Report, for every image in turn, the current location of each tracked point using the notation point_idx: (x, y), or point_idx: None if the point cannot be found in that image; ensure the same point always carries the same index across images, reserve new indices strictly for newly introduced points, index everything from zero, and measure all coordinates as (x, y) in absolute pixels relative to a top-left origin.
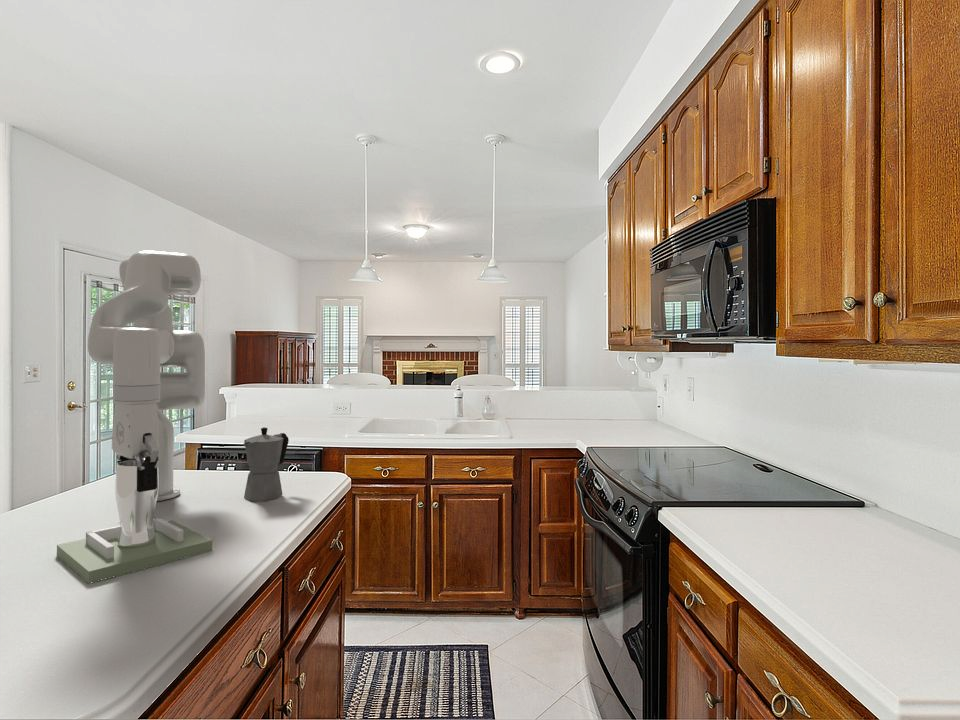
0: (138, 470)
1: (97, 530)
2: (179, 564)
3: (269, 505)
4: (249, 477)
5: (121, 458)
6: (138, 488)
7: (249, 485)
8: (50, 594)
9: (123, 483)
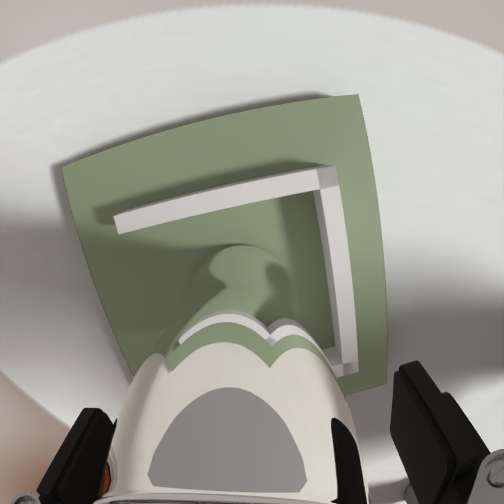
0: (38, 492)
1: (335, 201)
2: (106, 343)
3: (381, 491)
4: None
5: (470, 485)
6: (81, 419)
7: None
8: (64, 97)
9: (129, 396)
